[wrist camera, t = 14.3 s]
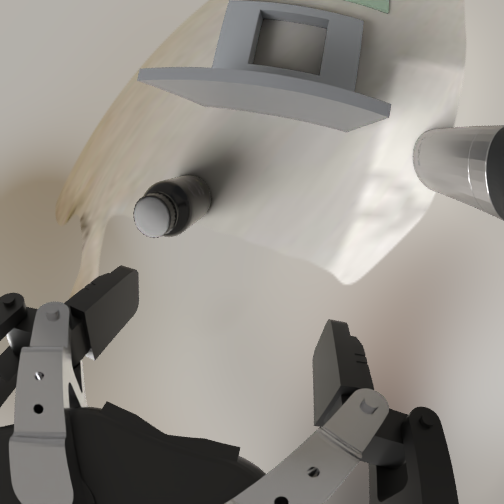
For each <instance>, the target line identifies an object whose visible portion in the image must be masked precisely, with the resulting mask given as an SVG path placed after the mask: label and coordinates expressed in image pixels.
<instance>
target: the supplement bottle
mask: <svg viewBox="0 0 504 504" xmlns="http://www.w3.org/2000/svg"><path fill="white" fill-rule="evenodd" d="M210 205H211V193H210V190H209V188H208V186H207V184H206V183H205V182H204V181H203V180H202V179H200V178H198V177H196V176H193V175H184V176H179V177H175V178H171V179H168V180H164V181H160V182H158V183H155V184H154V185H152V186H151V187H150V188H149V189H148V190H147V191H146V193H145V194H144V196H143V197H142V198H140V199H139V201H137V204H136V205H135V208H134V213H133V214H134V221H135V224H136V226H137V228H138V229H139V230H140V232H142V233H143V234H144V235H146V236H149V237H153V238H155V237H157V238H158V237H160V236H165V237H173V236H177V235H179V234H181V233H182V232H184V231H185V230H186V229H188V228H189V227H190V226H192V225H193V224H194V223H196V222H197V221H198V220H200V219H201V218H202V217H203V216H204V215H205V214H206V213H207V212H208V210H209V208H210Z"/></svg>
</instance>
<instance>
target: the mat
mask: <svg viewBox="0 0 504 504" xmlns="http://www.w3.org/2000/svg"><path fill="white" fill-rule="evenodd" d="M345 1H349V2H353V3H356V4H360V5H363V6H366V7H370V8H373V9H376V10H379V11H382V12H385V13H387V14H388V12H389V0H345Z"/></svg>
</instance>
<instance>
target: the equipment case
mask: <svg viewBox="0 0 504 504" xmlns="http://www.w3.org/2000/svg"><path fill="white" fill-rule="evenodd" d="M263 18H264V19H273V20H282V21H289V22H296V23H302V24H307V25H313V26H318V27H322V28H327V32H326V39H325V45H324V51H323V57H322V62H321V68H320V74H319V75H315V74H310V73H306V72H301V71H295V70H290V69H284V68H278V67H271V66H263V65H255V64H253V61H254V56H255V51H256V47H257V42H258V38H259V33H260V29H261V25H262V20H263ZM363 24H364V21H363V20H360V19H356V18H353V17H349V16H345V15H342V14H337V13H333V12H329V11H324V10H319V9H314V8H309V7H303V6H297V5H290V4H282V3H272V2H261V1H241V0H229V3H228V6H227V10H226V14H225V17H224V21H223V25H222V28H221V32H220V36H219V40H218V44H217V48H216V52H215V57H214V61H213V65H212V68H202V67H165V68H144V69H140V70H139V74H138V79H137V81H140V82H143V83H146V84H148V85H151V86H154V87H157V88H160V89H162V90H165V91H168V92H170V93H173V94H175V95H178V96H180V97H183V98H185V99H188V100H190V101H193V102H195V103H197V104H200V105H202V106H206V107H216V108H226V109H234V110H242V111H249V112H256V113H262V114H268V115H274V116H279V117H285V118H290V119H295V120H299V121H304V122H308V123H313V124H317V125H321V126H325V127H329V128H333V129H337V130H341V131H344V132H349V131H352V130H355V129H357V128H360V127H363V126H366V125H368V124H371V123H374V122H377V121H380V120H383V119H386V118H389V115H390V108H391V104H389V103H387V102H384V101H381V100H378V99H375V98H372V97H369V96H366V95H363V94H360V93H356V92H354V91H355V85H356V78H357V72H358V65H359V58H360V50H361V42H362V33H363Z"/></svg>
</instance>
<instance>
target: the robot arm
mask: <svg viewBox="0 0 504 504" xmlns="http://www.w3.org/2000/svg"><path fill="white" fill-rule="evenodd" d="M413 163H414V168H415V171H416V173H417V176H418V177H419V179H420V181H421V182H422V183H423V184H424V185H425V186H426V187H428V188H429V189H431V190H433V191H436V192H438V193H441V194H443V195H446V196H448V197H451V198H453V199H456V200H458V201H461V202H463V203H466V204H468V205H470V206H473V207H475V208H477V209H479V210H482V211H484V212H486V213H489V214H491V215H493V216H495V217H497V218H499V219H501V220H503V221H504V126H473V127H456V128H442V129H432V130H429V131H426V132H425V133H423V134H422V135H421V136H420V137H419V138H418V140H417V142H416V144H415V147H414V152H413ZM138 288H139V285H138V272H137V270H135V269H131V268H128V267H125V266H119V267H118V268H116V269H115V270H114V271H112V272H111V273H107V274H104V275H102V276H99V277H97V278H96V279H94V280H93V281H92V282H91V283H90V284H88V285H87V286H85V288H83V289H81V290H80V291H79V292H78V293H76V294H75V295H74V296H73V297H71V298H70V299H69V300H68V301H66V302H65V303H61V302H49V303H46V304H44V305H42V306H41V307H40V308H39V309H33V308H29V307H26V305H25V302H24V298H23V296H22V295H20V294H17V293H9V294H5V295H3V296H2V297H0V341H1V339H3V338H4V337H5V336H7V339H8V342H9V344H10V346H9V347H8V348H7V349H6V350H5V351H4V352H3V353H2V354H1V355H0V407H1V406H2V404H3V403H4V402H5V400H6V399H7V398H8V396H9V395H10V394H11V393H12V391H13V390H14V389H15V388H16V395H15V396H16V397H15V415H14V424H13V425H8V426H4V427H0V504H324V503H325V502H326V501H327V500H328V499H329V498H330V497H331V495H332V494H333V493H334V492H335V491H336V490H337V489H338V487H339V486H340V485H341V484H342V483H343V481H344V480H345V479H346V478H347V477H348V475H349V474H350V473H351V472H352V470H353V469H354V468H355V466H356V465H357V464H358V462H359V461H364V462H367V463H369V486H370V487H369V494H370V501H369V504H459V503H458V496H457V490H456V484H455V479H454V474H453V469H452V464H451V460H450V455H449V451H448V447H447V443H446V439H445V436H444V432H443V428H442V425H441V421H440V419H439V417H438V416H437V414H436V413H435V412H434V411H432V410H431V409H429V408H426V407H417V408H415V409H413V410H412V411H411V412H410V414H409V415H407V414H404V413H401V412H398V411H394V410H392V409H389V405H388V402H387V401H386V399H385V398H384V396H382V395H381V394H380V393H379V392H377V391H374V387H373V383H372V378H371V375H370V371H369V367H368V365H367V359H366V357H365V352H364V349H363V345H362V344H361V343H360V341H359V340H358V339H357V338H356V337H354V336H350V332H349V328H348V325H347V323H345V322H340V321H335V320H330V319H329V320H328V321H327V323H326V325H325V327H324V330H323V332H322V334H321V337H320V339H319V341H318V344H317V346H316V348H315V351H314V356H313V389H314V426H320V428H318V429H317V430H316V431H315V432H314V433H313V434H312V435H311V436H310V437H309V438H308V439H307V440H306V441H304V443H302V444H301V445H300V446H299V447H298V448H297V449H296V450H295V451H293V452H292V453H291V454H290V455H289V456H288V457H287V458H285V459H284V461H282V462H281V463H280V464H278V465H277V466H276V467H275V468H274V469H272V470H271V471H270V472H269V473H267V474H265V473H264V472H263V471H262V470H261V469H260V468H259V467H257V466H256V465H254V464H253V463H251V462H250V461H248V460H246V459H244V458H242V457H240V456H239V451H240V447H236V446H231V445H227V444H223V443H219V442H215V441H212V440H208V439H202V438H190V437H181V436H172V435H167V434H164V433H163V432H161V431H159V430H158V429H156V428H155V427H153V426H152V425H150V424H149V423H147V422H146V421H144V420H143V419H142V418H140V417H139V416H137V415H136V414H133V413H131V412H129V411H127V410H124V409H122V408H120V407H118V406H116V405H113V404H111V403H109V402H106V404H105V405H104V407H103V408H102V409H101V408H94V407H88V406H87V403H86V397H85V388H84V376H83V364H82V359H83V357H84V356H87V357H88V358H90V359H92V360H96V358H97V357H98V356H99V355H100V354H101V353H102V351H103V350H104V349H105V348H106V347H107V345H108V344H109V343H110V342H111V341H112V339H113V338H114V337H115V336H116V335H117V334H118V333H119V331H120V330H121V329H122V328H123V327H124V326H125V324H126V323H127V322H128V321H129V320H130V319H131V318H132V317H133V315H134V314H135V313H136V311H137V308H138V304H139V289H138Z"/></svg>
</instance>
